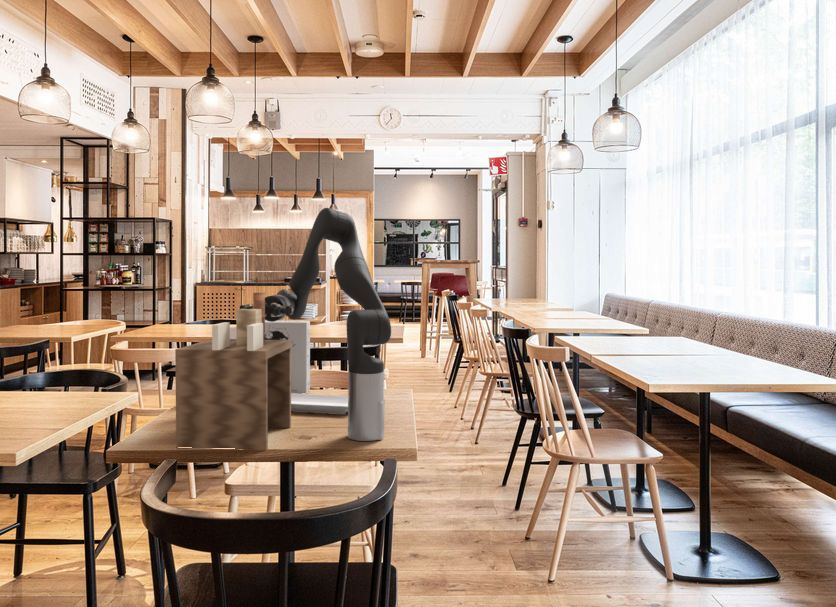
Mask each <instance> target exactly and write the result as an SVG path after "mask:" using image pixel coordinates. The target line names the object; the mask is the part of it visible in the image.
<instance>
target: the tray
mask: <svg viewBox="0 0 836 607" xmlns="http://www.w3.org/2000/svg"><path fill="white" fill-rule="evenodd" d="M291 411H292V412H293V413H307V412H314V413H313V414H325V413H332V414H331V415H346V414H347V413H348V395H330V394H329V395H328V394H311V393H310V394H309V393H307V394H297V393H291ZM292 412H291V413H292ZM346 412H347V413H346Z"/></svg>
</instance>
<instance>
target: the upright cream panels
mask: <svg viewBox="0 0 836 607" xmlns="http://www.w3.org/2000/svg"><path fill="white" fill-rule="evenodd" d="M230 324H231V322H225V321H224V322H220V323H215V324H211V339H212V350H221V349H223V348H226V347H229V346H230V327H231V325H230ZM262 347H263V323H255V324H252V325H248V326H247V351H254V350H257V349H259V348H262Z"/></svg>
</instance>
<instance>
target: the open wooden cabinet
mask: <svg viewBox="0 0 836 607" xmlns="http://www.w3.org/2000/svg"><path fill="white" fill-rule="evenodd" d="M174 350H175V357H174V358H175V364H174V365H175V448H176V447H192V448H235V449H244V450H243V451H258V452H259V451H260V452H263V451H264V452H266V451H267V450H268V446H269V445H268V438H269V437H268V436H269V434H268V432H269V431H268V430H269V429H268V428H276V427H278V428H282V429H283V428H284V429H285V428H287V429H290V428H291V427H292V412H291V340H265V341H263V347H262V348H259V349H257V350H254V351H247V346H242V345H236V339H230V346H229V347H226V348H223V349H221V350H212V338H211V339H208V340H204V341H199V342H197V343H192V344H189V345H186V346H183V347H180V348H176V349H174Z"/></svg>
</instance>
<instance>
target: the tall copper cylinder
mask: <svg viewBox="0 0 836 607" xmlns="http://www.w3.org/2000/svg"><path fill="white" fill-rule="evenodd" d="M252 295H253V296H252V297H253V299H252V302H253V303H252V304H253V309H240V308H239V309H236V310H235V311H236V312H235V314H236V318H235V319H236V322H235V323H236V326H235V327H236V345H242V346H247V326H248V325H252V324H255V323H263V341H265V297H266V296H265V295H266V293H265V292H253V294H252Z"/></svg>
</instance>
